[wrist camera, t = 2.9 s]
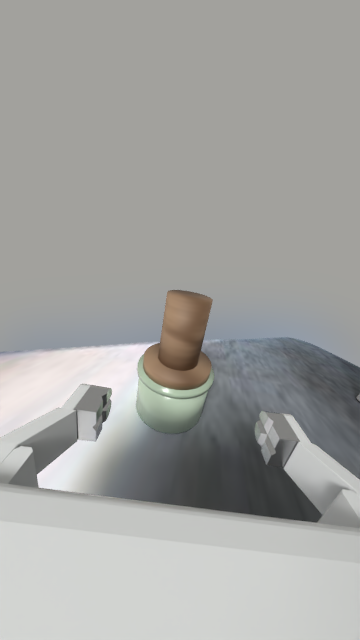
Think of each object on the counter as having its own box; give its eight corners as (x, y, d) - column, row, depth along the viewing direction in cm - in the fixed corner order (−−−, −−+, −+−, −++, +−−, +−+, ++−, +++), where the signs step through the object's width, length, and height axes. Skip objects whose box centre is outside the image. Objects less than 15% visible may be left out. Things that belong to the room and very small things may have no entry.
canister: (182, 375, 31) (188, 344, 29) (218, 420, 23) (230, 383, 21) (126, 386, 26) (128, 351, 24) (147, 449, 18) (154, 404, 16)
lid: (187, 346, 28) (199, 289, 25) (223, 381, 21) (245, 308, 18) (134, 353, 24) (141, 284, 21) (158, 398, 17) (173, 307, 14)
